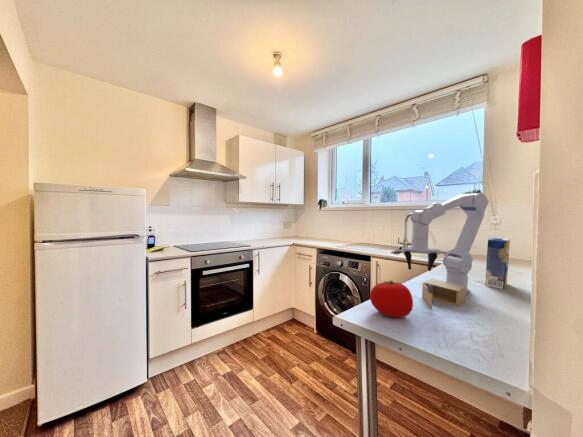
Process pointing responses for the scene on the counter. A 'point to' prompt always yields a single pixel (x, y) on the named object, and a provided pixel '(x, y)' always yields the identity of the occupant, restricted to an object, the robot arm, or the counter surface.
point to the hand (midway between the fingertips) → (419, 269)
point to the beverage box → (497, 262)
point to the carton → (447, 292)
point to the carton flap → (427, 294)
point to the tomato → (392, 299)
